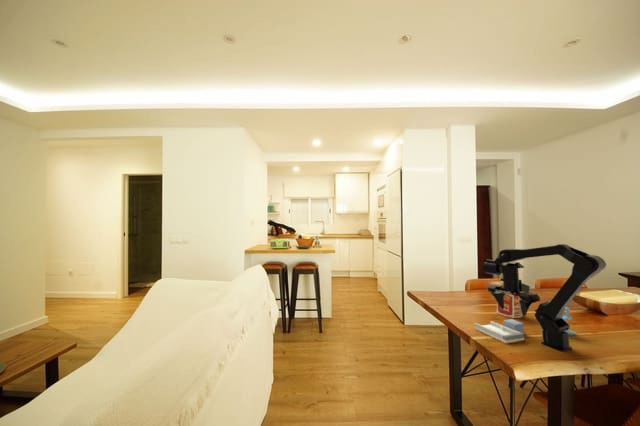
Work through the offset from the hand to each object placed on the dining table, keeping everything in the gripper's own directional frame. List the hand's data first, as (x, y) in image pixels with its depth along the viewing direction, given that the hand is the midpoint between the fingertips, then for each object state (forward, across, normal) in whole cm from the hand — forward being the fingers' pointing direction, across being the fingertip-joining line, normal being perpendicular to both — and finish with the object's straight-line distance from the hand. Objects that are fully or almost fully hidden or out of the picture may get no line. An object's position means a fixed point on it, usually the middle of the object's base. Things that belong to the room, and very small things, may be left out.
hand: (512, 312), depth 104 cm
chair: (+9, -5, -20) cm, 22 cm away
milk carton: (+9, +16, -20) cm, 28 cm away
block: (+9, 0, 0) cm, 9 cm away
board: (+9, 0, +9) cm, 12 cm away
